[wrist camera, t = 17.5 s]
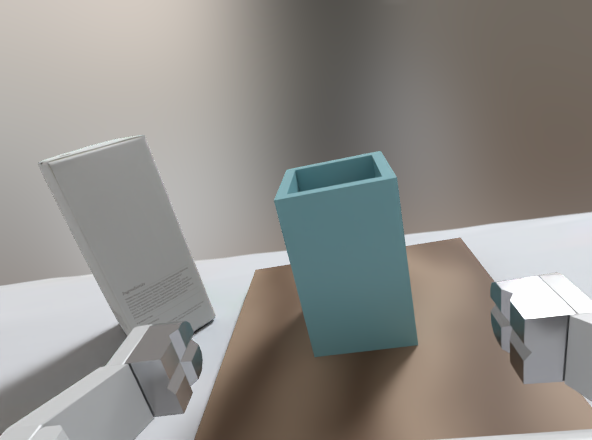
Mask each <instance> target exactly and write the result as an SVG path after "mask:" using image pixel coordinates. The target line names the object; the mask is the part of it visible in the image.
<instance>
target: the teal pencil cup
mask: <svg viewBox="0 0 592 440" xmlns="http://www.w3.org/2000/svg"><path fill="white" fill-rule="evenodd" d="M274 202H275V206H276V210H277V214H278V218H279V222H280V225H281V229H282V233H283V237H284V241H285V245H286V249H287V253H288V256H289V260H290V264H291V268H292V272H293V276H294V280H295V284H296V288H297V291H298V295H299V299H300V303H301V307H302V311H303V315H304V319H305V322H306V326H307V330H308V334H309V338H310V342H311V346H312V350H313V353H314V357H320V356H329V355H337V354H346V353H355V352H363V351H372V350H381V349H389V348H398V347H407V346H415V345H418V339H417V331H416V323H415V315H414V308H413V300H412V292H411V284H410V276H409V269H408V261H407V253H406V245H405V237H404V229H403V222H402V214H401V206H400V199H399V190H398V183H397V177H396V175H395V174H394V172H393V170H392V169H391V167H390V166H389V164H388V162H387V161H386V159H385V157H384V156H383V154H382V153H381V151H378V152H373V153H368V154H363V155H358V156H353V157H348V158H343V159H338V160H333V161H328V162H323V163H318V164H313V165H308V166H302V167H297V168H292V169H288V170H286V173H285V175H284V178H283V180H282V182H281V185H280V187H279V190H278V192H277V195H276V197H275V199H274Z"/></svg>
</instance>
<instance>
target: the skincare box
mask: <svg viewBox="0 0 592 440" xmlns="http://www.w3.org/2000/svg"><path fill="white" fill-rule="evenodd" d="M38 165H39V167H40V170H41V172H42V174H43V176H44V178H45V181H46V183H47V185H48V187H49V189H50V191H51V193H52V195H53V197H54V199H55V201H56V203H57V205H58V207H59V209H60V210H61V213H62V214H63V217H64V219H65V221H66V223H67V225H68V227H69V229H70V231H71V233H72V235H73V237H74V239H75V241H76V242H77V244H78V246H79V248H80V250H81V252H82V254H83V256H84V258H85V260H86V262H87V264H88V266H89V268H90V270H91V272H92V274H93V275H94V277H95V279H96V281H97V283H98V285H99V287H100V289H101V291H102V293H103V295H104V297H105V298H106V300H107V302H108V304H109V306H110V308H111V310H112V311H113V313H114V315H115V317H116V319H117V321H118V322H119V324H120V326H121V328H122V329H123V331H124V332H125V334H126V335H127V336H128V335H129V334H130V332H131V331H132V330H133V328H135V327H138V326H142V325H150V324H159V323H169V322H178V321H187V322H189V323H190V324H191V327H192V329H193V331H196V330H197V329H199V328H200V327H202V326H204V325H205V324H207V323H208V322H210V321H211V320H213V319H214V318H215V313H214V310H213V307H212V305H211V303H210V300H209V298H208V295H207V292H206V290H205V287H204V285H203V282H202V280H201V277H200V275H199V272H198V270H197V267H196V265H195V262H194V260H193V257H192V255H191V252H190V250H189V247H188V245H187V242H186V239H185V237H184V234H183V232H182V229H181V227H180V224H179V222H178V219H177V217H176V214H175V212H174V209H173V206H172V204H171V201H170V199H169V196H168V194H167V191H166V188H165V186H164V183H163V181H162V179H161V176H160V173H159V171H158V168H157V166H156V163H155V161H154V158H153V155H152V153H151V150H150V148H149V145H148V143H147V140H146V137H145V135H138V136H132V137H126V138H121V139H114V140H110V141H106V142H102V143H99V144H96V145H91V146H88V147H85V148H81V149H78V150H75V151H72V152H68V153H65V154H62V155H59V156H55V157H52V158H49V159H45V160H43V161H40V162H38Z"/></svg>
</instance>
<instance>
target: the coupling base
mask: <svg viewBox="0 0 592 440" xmlns="http://www.w3.org/2000/svg"><path fill="white" fill-rule="evenodd" d="M406 253H407V261H408V269H409V276H410V284H411V292H412V300H413V308H414V315H415V323H416V331H417V339H418V345H415V346H407V347H398V348H389V349H381V350H372V351H363V352H355V353H346V354H337V355H329V356H320V357H314V353H313V350H312V346H311V342H310V338H309V334H308V330H307V326H306V322H305V319H304V315H303V311H302V307H301V303H300V299H299V295H298V291H297V288H296V284H295V280H294V276H293V272H292V268H291V264H290V265H284V266H278V267H271V268H265V269H259V270H255V273H254V276H253V279H252V281H251V284H250V287H249V290H248V293H247V295H246V298H245V301H244V304H243V306H242V309H241V312H240V315H239V317H238V320H237V323H236V326H235V328H234V331H233V334H232V337H231V339H230V342H229V345H228V348H227V351H226V353H225V356H224V359H223V362H222V364H221V367H220V370H219V373H218V375H217V378H216V381H215V384H214V386H213V389H212V392H211V395H210V397H209V400H208V403H207V406H206V409H205V411H204V414H203V417H202V420H201V422H200V425H199V428H198V431H197V433H196V436H195V439H194V440H437V439H452V438H467V437H482V436H497V435H512V434H528V433H542V432H556V431H570V430H583V429H592V407H591V406H590V405H589V403H588V402H587V401H586V399H585V398H584V397H583V396H582V395H581V394H580V393H578V392H577V391H575V390H574V389H572V388H571V387H569V386H568V385H566V384H565V382H551V383H534V384H523V383H522V381H521V379H520V378H519V376H518V375H517V373H516V371H515V370H514V368H513V367H512V365H511V363H510V353H508V352H506V351H505V350H503V349H501V347H500V345H499V344H498V342H497V340H496V337H495V335H494V332H493V328H492V324H491V310H492V309H493V307H494V306H495V305H496V304H495V303H494V301H493V300H492V298H491V297H490V287H491V283H492V282H494V280H493V279H492V278H491V277H490V275H489V274H488V273H487V271H486V270H485V269H484V267H483V266H482V265H481V264H480V262H479V261H478V260H477V258H476V257H475V256H474V255H473V253H472V252H471V251H470V249H469V248H468V247H467V245H466V244H465V243H464V242H463V240H462V239H461V238H455V239H449V240H442V241H436V242H430V243H423V244H417V245H411V246H406Z"/></svg>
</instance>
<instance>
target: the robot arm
mask: <svg viewBox="0 0 592 440" xmlns="http://www.w3.org/2000/svg"><path fill="white" fill-rule="evenodd" d="M490 297H491V298H492V300H493V301H494V303H495V304H496V305H495V306H494V307H493V309H492V310H491V324H492V328H493V332H494V335H495V337H496V340H497V342H498V344H499V345H500V347H501V349H503V350H505V351H506V352H508V353H510V363H511V365H512V367H513V368H514V370H515V371H516V373H517V375H518V376H519V378H520V379H521V381H522V383H523V384H534V383H551V382H565V384H566V385H568V386H569V387H571V388H572V389H574V390H575V391H577V392H578V393H580V394H581V395H583V396H584V397H586V398H587V399H589V400H590V401H592V300H591V299H590V298H589V297H587V296H586V295H585V294H584V293H583V292H582V291H581V290H579V289H578V288H577V287H576V286H575V285H574V284H573V283H571V282H570V281H569V280H568V279H567V278H566V277H565V276H563V275H562V274H560V273H557V272H555V273H549V274H543V275H536V276H533V277H526V278H519V279H511V280H504V281H497V282H492V283H491V287H490ZM193 334H194V331H193V329H192V327H191V324H190V323H189V322H187V321H178V322H169V323H159V324H150V325H142V326H138V327H135V328H133V330H132V331H131V332H130V334H129V335H128V336H127V338H126V339H125V340H124V342H123V343H122V344H121V346H120V347H119V348H118V350H117V351H116V352H115V354H114V355H113V356H112V358H111V359H110V360H109V362H108V363H107V364H106V366H104V367H99V368H98V369H96V370H95V371H93V372H92V373H90V374H89V375H87V376H85V377H84V378H82V379H81V380H79V381H78V382H76V383H75V384H73V385H72V386H70V387H69V388H67V389H66V390H64V391H63V392H61V393H60V394H58V395H57V396H55V397H54V398H52V399H51V400H49V401H48V402H46V403H45V404H43V405H42V406H40V407H39V408H37V409H36V410H34V411H32V412H31V413H29V414H28V415H26V416H25V417H23V418H22V419H20V420H19V421H17V422H16V423H14V424H13V425H11V426H10V427H8V428H7V429H6V430H5V431H4V432H3V433H2V435H1V436H0V440H134V439H135V438H136V437H137V436H138V435H139V434H140V433H141V432H142V431H143V430H144V429H145V428H146V427H147V426H148V425H149V424H150V423H151V421H152V420H153V419H154V417H159V416H167V415H176V414H184V412H185V410H186V408H187V405H188V403H189V400H190V398H191V396H192V393H193V392H192V390H191V387H190V386H191V385H193V384H194V383H195V382H196V381H197V380H198V379H199V376H200V374H201V371H202V361H203V360H202V353H201V350H200V347H199V345H198V344H197V343H195V342H194V341H193V340H192V336H193ZM437 440H592V429H583V430H570V431H556V432H542V433H528V434H512V435H497V436H482V437H467V438H452V439H437Z"/></svg>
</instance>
